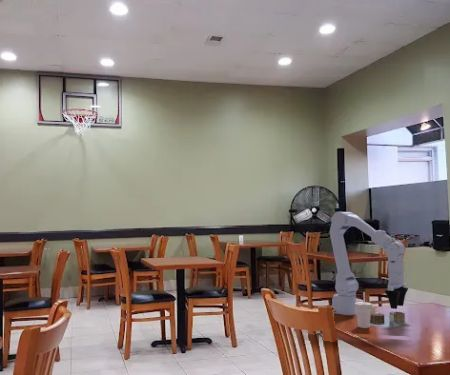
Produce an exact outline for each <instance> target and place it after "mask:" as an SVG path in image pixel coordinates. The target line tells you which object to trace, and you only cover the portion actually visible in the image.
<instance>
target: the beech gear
mask: <svg viewBox="0 0 450 375" xmlns="http://www.w3.org/2000/svg"><path fill="white" fill-rule="evenodd" d="M389 314H393V315H394V321H396V322H404V321H405V319H406V316H405V315H406V314H405V312H403V311H390V312H389Z"/></svg>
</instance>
